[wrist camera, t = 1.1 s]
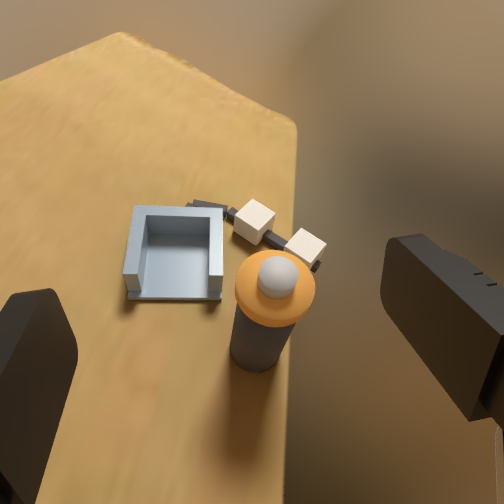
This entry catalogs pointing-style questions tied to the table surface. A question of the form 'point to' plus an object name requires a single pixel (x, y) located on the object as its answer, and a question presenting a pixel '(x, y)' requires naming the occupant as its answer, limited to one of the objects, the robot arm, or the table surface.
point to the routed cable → (269, 231)
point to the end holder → (174, 253)
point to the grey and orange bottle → (268, 306)
